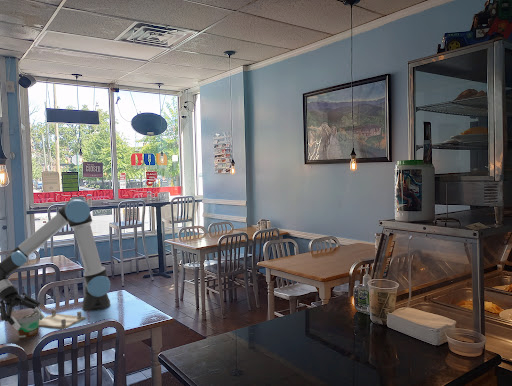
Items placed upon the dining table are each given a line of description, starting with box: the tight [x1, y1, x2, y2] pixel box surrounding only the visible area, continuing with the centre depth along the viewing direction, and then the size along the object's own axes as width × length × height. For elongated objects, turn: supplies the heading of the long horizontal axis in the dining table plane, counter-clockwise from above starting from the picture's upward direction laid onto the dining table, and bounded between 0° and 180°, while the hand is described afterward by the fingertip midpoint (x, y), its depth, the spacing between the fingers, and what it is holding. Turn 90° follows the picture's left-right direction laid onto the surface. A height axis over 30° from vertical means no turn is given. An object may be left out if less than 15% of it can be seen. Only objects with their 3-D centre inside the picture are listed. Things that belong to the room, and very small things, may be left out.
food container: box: [16, 311, 40, 340], centre depth 193 cm, size 12×6×10 cm, turn 168°
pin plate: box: [39, 308, 86, 330], centre depth 211 cm, size 15×21×4 cm
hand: (31, 323), depth 193 cm, fingers open, 13 cm apart
